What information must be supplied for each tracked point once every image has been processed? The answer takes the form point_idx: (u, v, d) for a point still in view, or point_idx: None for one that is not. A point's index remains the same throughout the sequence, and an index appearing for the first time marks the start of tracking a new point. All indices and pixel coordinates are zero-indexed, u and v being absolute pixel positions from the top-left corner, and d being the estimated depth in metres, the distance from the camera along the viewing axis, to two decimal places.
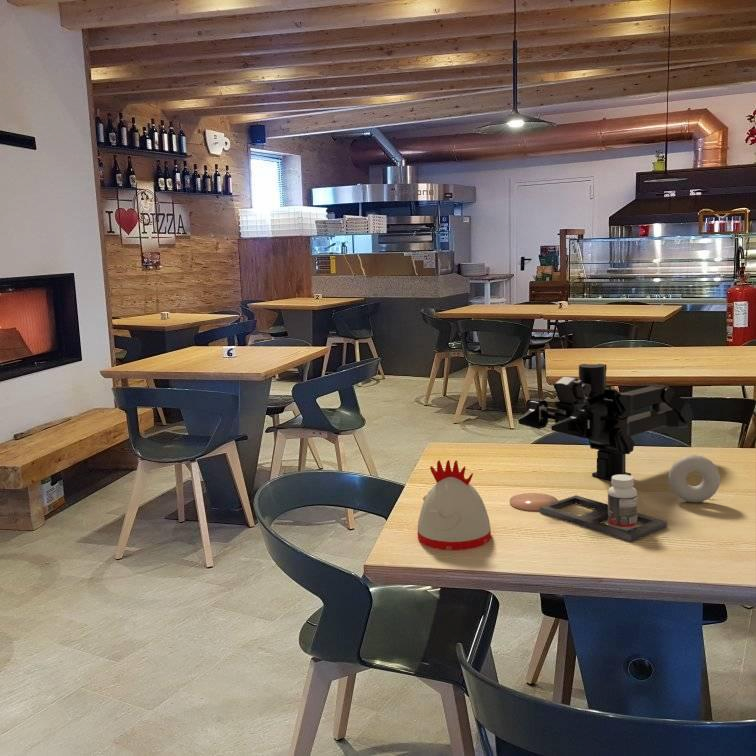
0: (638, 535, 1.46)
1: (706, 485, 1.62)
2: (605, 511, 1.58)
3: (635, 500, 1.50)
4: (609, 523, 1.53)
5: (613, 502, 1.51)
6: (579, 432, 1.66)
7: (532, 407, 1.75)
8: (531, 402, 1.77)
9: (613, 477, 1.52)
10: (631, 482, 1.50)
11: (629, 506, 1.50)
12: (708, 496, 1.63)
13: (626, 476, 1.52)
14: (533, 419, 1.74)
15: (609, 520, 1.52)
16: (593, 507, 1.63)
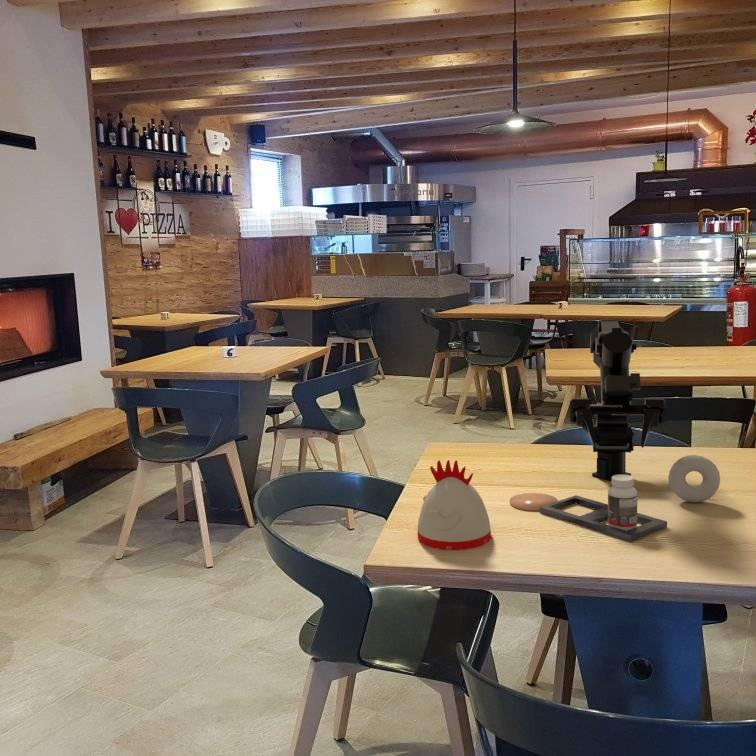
0: (638, 535, 1.46)
1: (706, 485, 1.62)
2: (605, 511, 1.58)
3: (635, 500, 1.50)
4: (609, 523, 1.53)
5: (613, 502, 1.51)
6: (650, 425, 1.62)
7: (586, 416, 1.62)
8: (581, 410, 1.62)
9: (613, 477, 1.52)
10: (631, 482, 1.50)
11: (629, 506, 1.50)
12: (708, 496, 1.63)
13: (626, 476, 1.52)
14: None
15: (609, 520, 1.52)
16: (593, 507, 1.63)
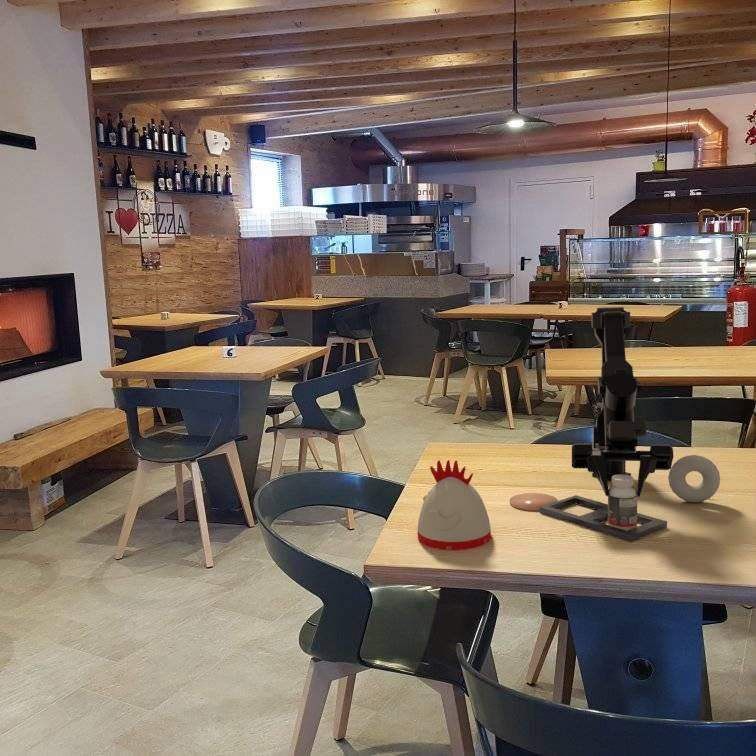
0: (638, 535, 1.46)
1: (706, 485, 1.62)
2: (605, 511, 1.58)
3: (635, 500, 1.50)
4: (609, 523, 1.53)
5: (613, 502, 1.51)
6: (647, 471, 1.54)
7: (598, 464, 1.53)
8: (593, 457, 1.53)
9: (613, 477, 1.52)
10: (631, 482, 1.50)
11: (629, 506, 1.50)
12: (708, 496, 1.63)
13: (626, 476, 1.52)
14: None
15: (609, 520, 1.52)
16: (593, 507, 1.63)
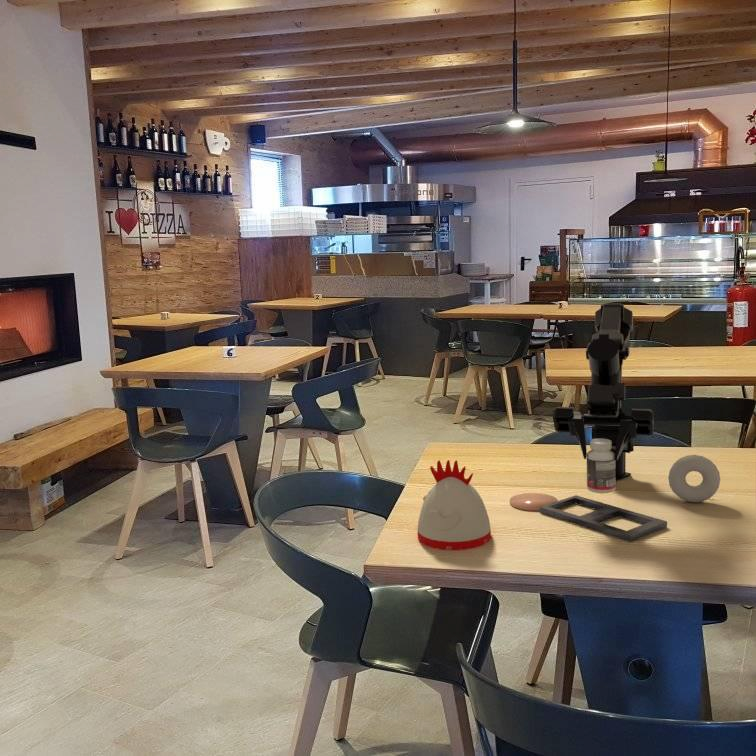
0: (638, 535, 1.46)
1: (706, 485, 1.62)
2: (605, 511, 1.58)
3: (612, 463, 1.51)
4: (587, 486, 1.54)
5: (590, 465, 1.52)
6: (628, 436, 1.55)
7: (578, 427, 1.55)
8: (573, 420, 1.55)
9: (591, 440, 1.53)
10: (608, 445, 1.51)
11: (605, 469, 1.51)
12: (708, 496, 1.63)
13: (605, 440, 1.53)
14: (585, 437, 1.56)
15: (587, 483, 1.54)
16: (593, 507, 1.63)
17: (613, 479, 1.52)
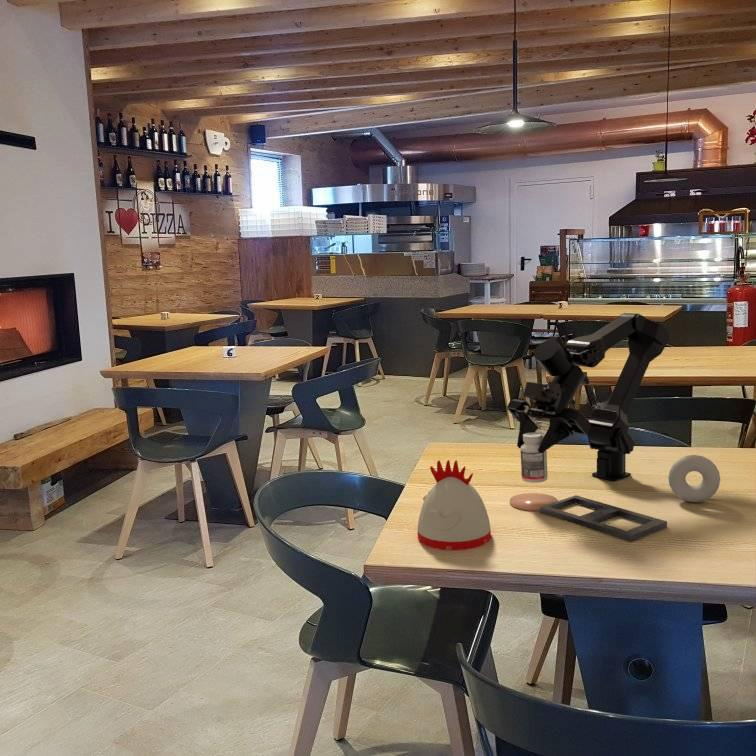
0: (638, 535, 1.46)
1: (706, 485, 1.62)
2: (605, 511, 1.58)
3: (536, 456, 1.64)
4: None
5: None
6: (565, 433, 1.65)
7: (521, 419, 1.70)
8: (517, 412, 1.71)
9: (526, 433, 1.68)
10: (534, 439, 1.65)
11: (529, 461, 1.65)
12: (708, 496, 1.63)
13: (537, 434, 1.66)
14: (529, 429, 1.70)
15: None
16: (593, 507, 1.63)
17: (538, 471, 1.65)
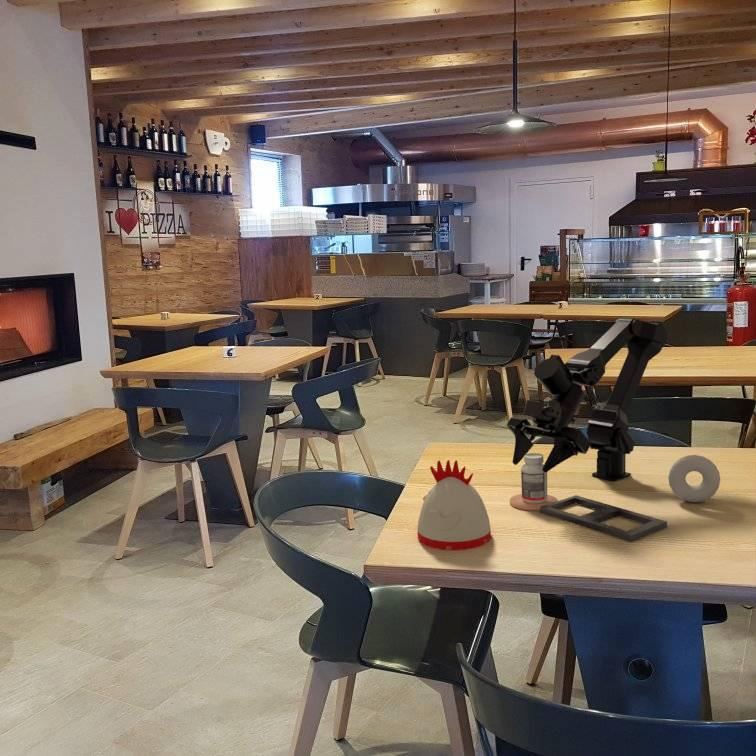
0: (638, 535, 1.46)
1: (706, 485, 1.62)
2: (605, 511, 1.58)
3: (536, 477, 1.65)
4: None
5: (521, 476, 1.68)
6: (569, 453, 1.65)
7: (517, 436, 1.72)
8: (513, 429, 1.72)
9: (527, 454, 1.68)
10: (535, 460, 1.65)
11: (530, 482, 1.66)
12: (708, 496, 1.63)
13: (538, 455, 1.67)
14: (524, 446, 1.72)
15: None
16: (593, 507, 1.63)
17: (539, 492, 1.66)
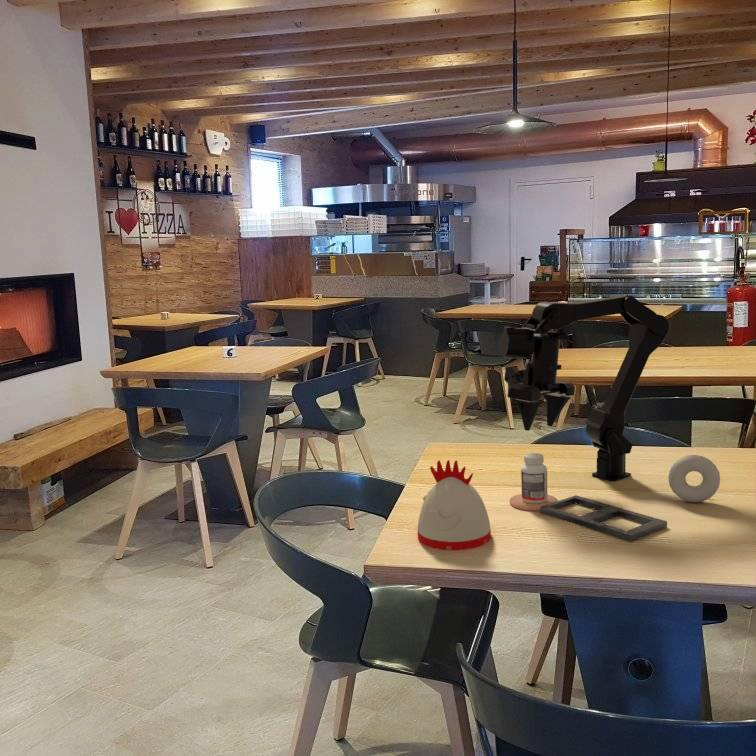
0: (638, 535, 1.46)
1: (706, 485, 1.62)
2: (605, 511, 1.58)
3: (536, 477, 1.65)
4: None
5: (521, 476, 1.68)
6: (531, 404, 1.72)
7: None
8: None
9: (527, 454, 1.68)
10: (535, 460, 1.65)
11: (530, 482, 1.66)
12: (708, 496, 1.63)
13: (538, 455, 1.67)
14: (553, 405, 1.81)
15: None
16: (593, 507, 1.63)
17: (539, 492, 1.66)
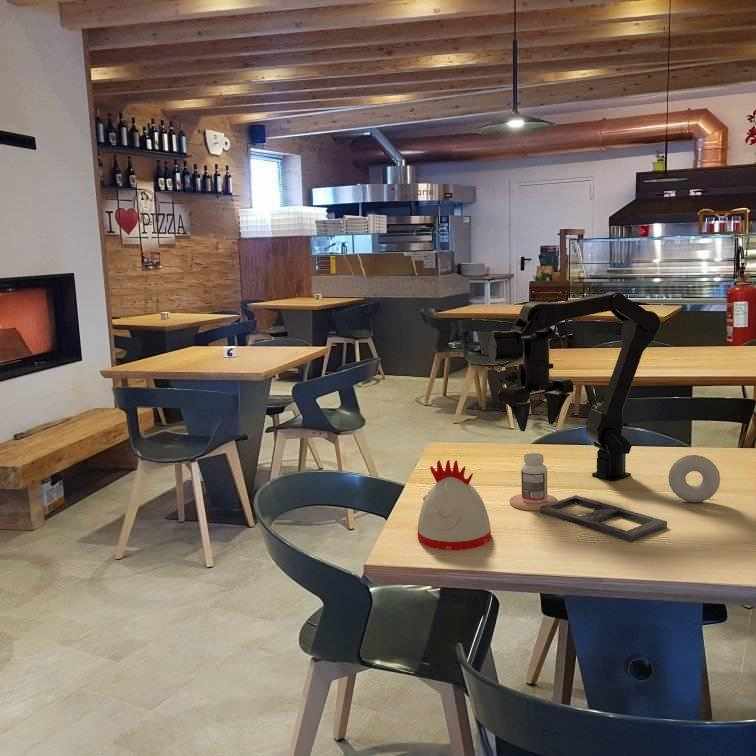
0: (638, 535, 1.46)
1: (706, 485, 1.62)
2: (605, 511, 1.58)
3: (536, 477, 1.65)
4: None
5: (521, 476, 1.68)
6: (521, 406, 1.74)
7: None
8: None
9: (527, 454, 1.68)
10: (535, 460, 1.65)
11: (530, 482, 1.66)
12: (708, 496, 1.63)
13: (538, 455, 1.67)
14: (552, 404, 1.82)
15: None
16: (593, 507, 1.63)
17: (539, 492, 1.66)
